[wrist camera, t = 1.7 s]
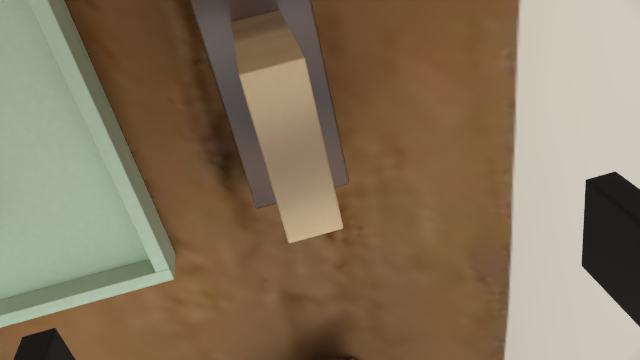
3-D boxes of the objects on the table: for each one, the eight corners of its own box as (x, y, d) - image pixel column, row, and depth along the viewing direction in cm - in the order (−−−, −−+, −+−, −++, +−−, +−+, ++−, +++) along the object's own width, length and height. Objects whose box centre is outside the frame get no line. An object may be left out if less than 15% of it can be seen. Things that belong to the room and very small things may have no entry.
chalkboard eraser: (182, -43, 25) (168, 7, 16) (287, -69, 26) (332, -34, 17) (251, 177, 31) (269, 301, 22) (336, 154, 32) (387, 268, 23)
